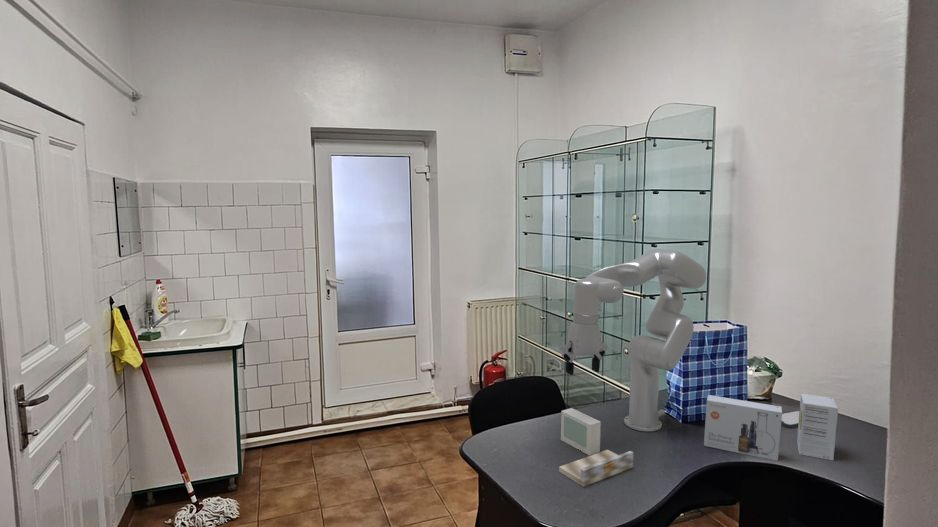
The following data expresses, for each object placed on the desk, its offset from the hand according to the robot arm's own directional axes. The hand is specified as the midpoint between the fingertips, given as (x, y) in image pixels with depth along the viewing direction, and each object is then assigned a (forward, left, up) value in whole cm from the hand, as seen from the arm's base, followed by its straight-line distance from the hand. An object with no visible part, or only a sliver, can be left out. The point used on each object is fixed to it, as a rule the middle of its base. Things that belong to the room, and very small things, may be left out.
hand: (582, 372), depth 176 cm
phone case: (-78, +27, -25) cm, 86 cm away
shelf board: (+7, +14, -24) cm, 29 cm away
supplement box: (-59, +43, -25) cm, 77 cm away
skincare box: (-40, +30, -25) cm, 55 cm away
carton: (0, 0, -24) cm, 24 cm away
